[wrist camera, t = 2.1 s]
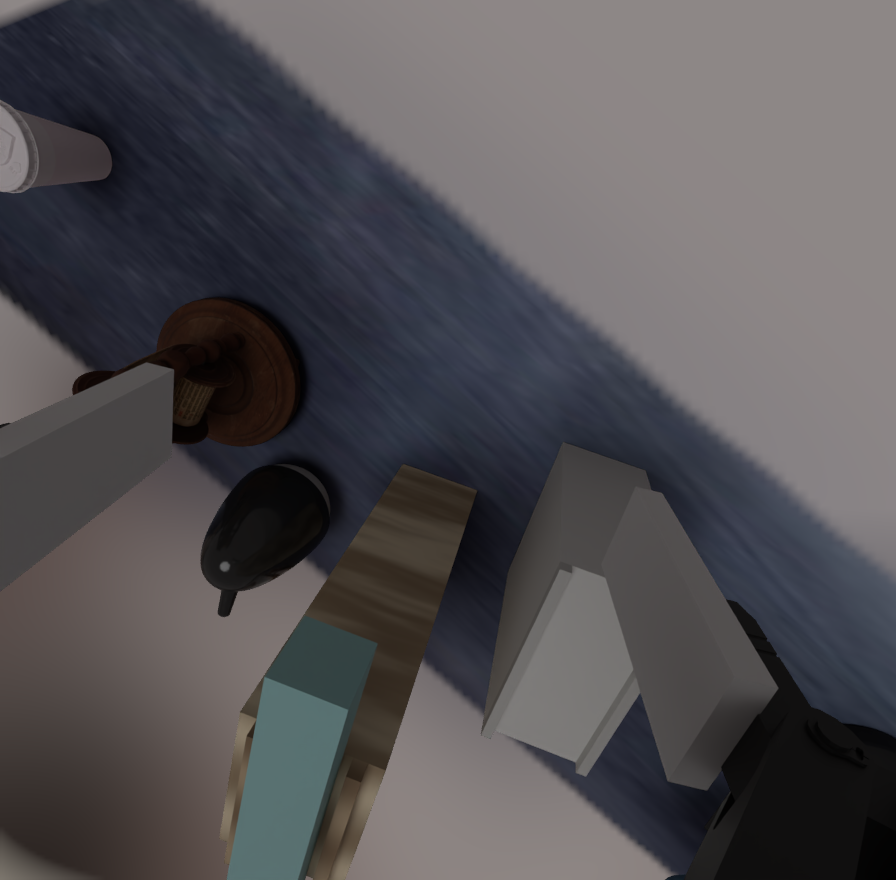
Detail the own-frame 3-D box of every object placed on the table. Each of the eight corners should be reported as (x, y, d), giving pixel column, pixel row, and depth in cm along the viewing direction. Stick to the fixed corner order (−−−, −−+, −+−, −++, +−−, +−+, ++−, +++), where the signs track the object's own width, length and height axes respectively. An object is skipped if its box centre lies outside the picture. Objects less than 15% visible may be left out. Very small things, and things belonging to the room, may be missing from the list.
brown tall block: (403, 463, 54) (228, 729, 26) (477, 490, 54) (379, 790, 26) (377, 554, 60) (209, 856, 32) (445, 579, 59) (334, 909, 31)
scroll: (203, 263, 50) (1, 291, 32) (332, 356, 51) (205, 433, 33) (154, 382, 57) (-38, 461, 39) (270, 462, 58) (134, 576, 40)
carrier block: (562, 441, 50) (560, 569, 32) (645, 470, 49) (689, 616, 32) (508, 571, 57) (480, 735, 39) (580, 597, 56) (585, 776, 38)
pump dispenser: (253, 519, 61) (162, 607, 48) (259, 439, 57) (161, 511, 43) (336, 545, 60) (268, 643, 47) (349, 466, 56) (277, 548, 42)
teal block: (304, 615, 24) (264, 676, 21) (377, 643, 24) (348, 710, 20) (249, 870, 33) (215, 939, 30) (300, 892, 33) (272, 964, 30)
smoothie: (136, 187, 49) (-14, 179, 36) (81, 202, 51) (-80, 200, 38) (107, 108, 47) (-64, 70, 34) (50, 127, 48) (-132, 97, 36)
